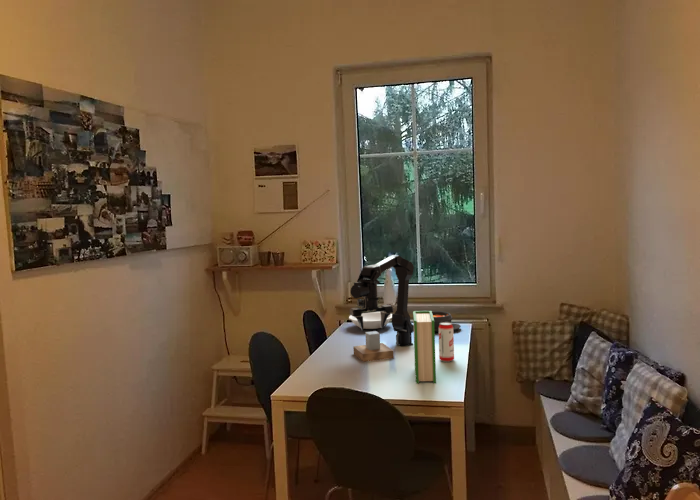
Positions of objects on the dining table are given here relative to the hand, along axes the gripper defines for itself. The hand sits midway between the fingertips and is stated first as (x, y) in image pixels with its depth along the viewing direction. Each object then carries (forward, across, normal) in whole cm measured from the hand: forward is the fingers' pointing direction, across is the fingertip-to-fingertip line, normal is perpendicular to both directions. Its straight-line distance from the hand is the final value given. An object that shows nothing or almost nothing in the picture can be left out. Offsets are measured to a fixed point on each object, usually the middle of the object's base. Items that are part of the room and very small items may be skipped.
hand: (372, 329), depth 252 cm
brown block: (+12, 0, 0) cm, 13 cm away
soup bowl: (+12, -17, -50) cm, 54 cm away
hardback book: (+12, -9, +35) cm, 38 cm away
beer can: (+12, -26, +20) cm, 35 cm away
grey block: (+8, 0, 0) cm, 8 cm away
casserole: (+12, -46, -31) cm, 57 cm away
